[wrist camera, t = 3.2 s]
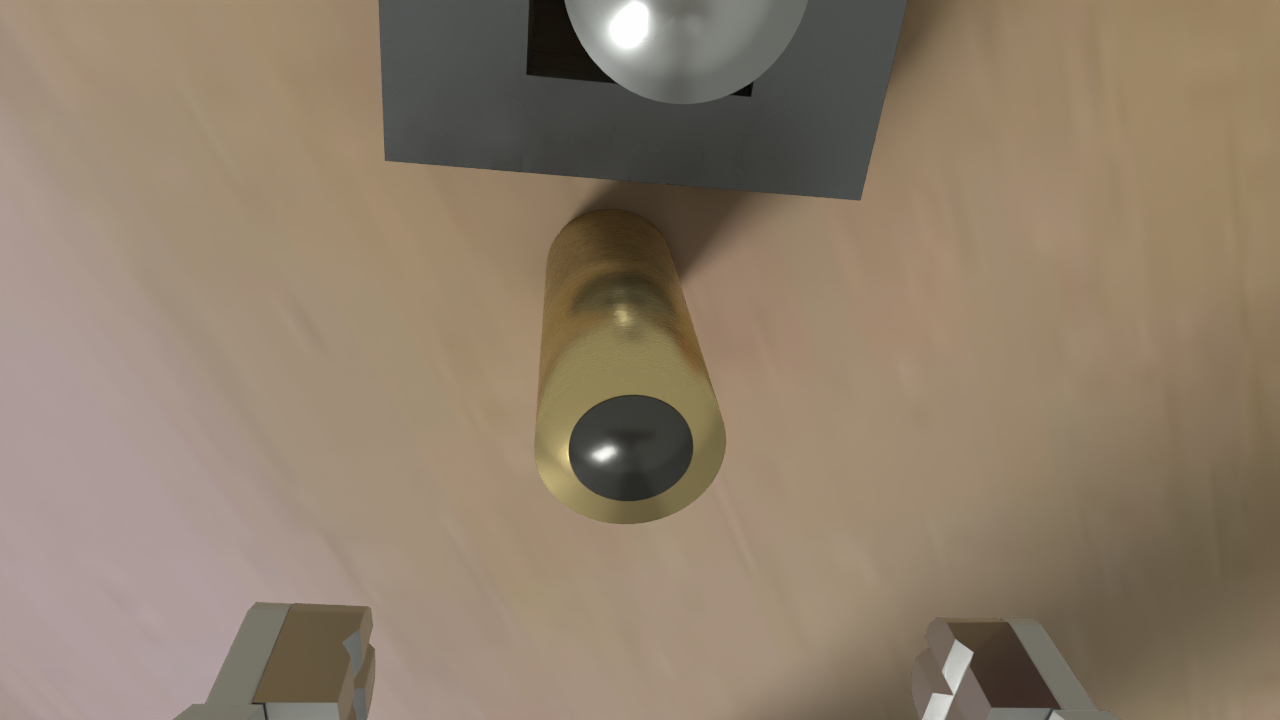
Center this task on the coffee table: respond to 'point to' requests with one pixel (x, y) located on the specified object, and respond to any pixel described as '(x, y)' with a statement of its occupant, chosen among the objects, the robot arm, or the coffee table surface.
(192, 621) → the coffee table surface
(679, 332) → the bushing
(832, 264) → the coffee table surface
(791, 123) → the jig
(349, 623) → the robot arm
